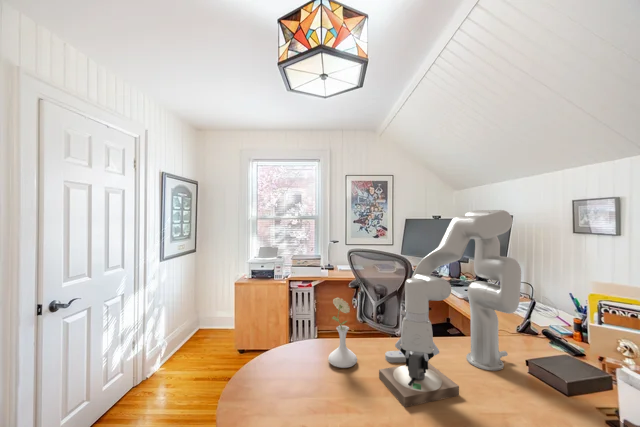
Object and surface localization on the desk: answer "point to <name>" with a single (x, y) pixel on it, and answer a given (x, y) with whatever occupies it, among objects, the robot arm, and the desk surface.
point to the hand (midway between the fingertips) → (416, 369)
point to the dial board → (418, 385)
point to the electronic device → (395, 356)
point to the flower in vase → (342, 340)
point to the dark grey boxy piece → (416, 367)
